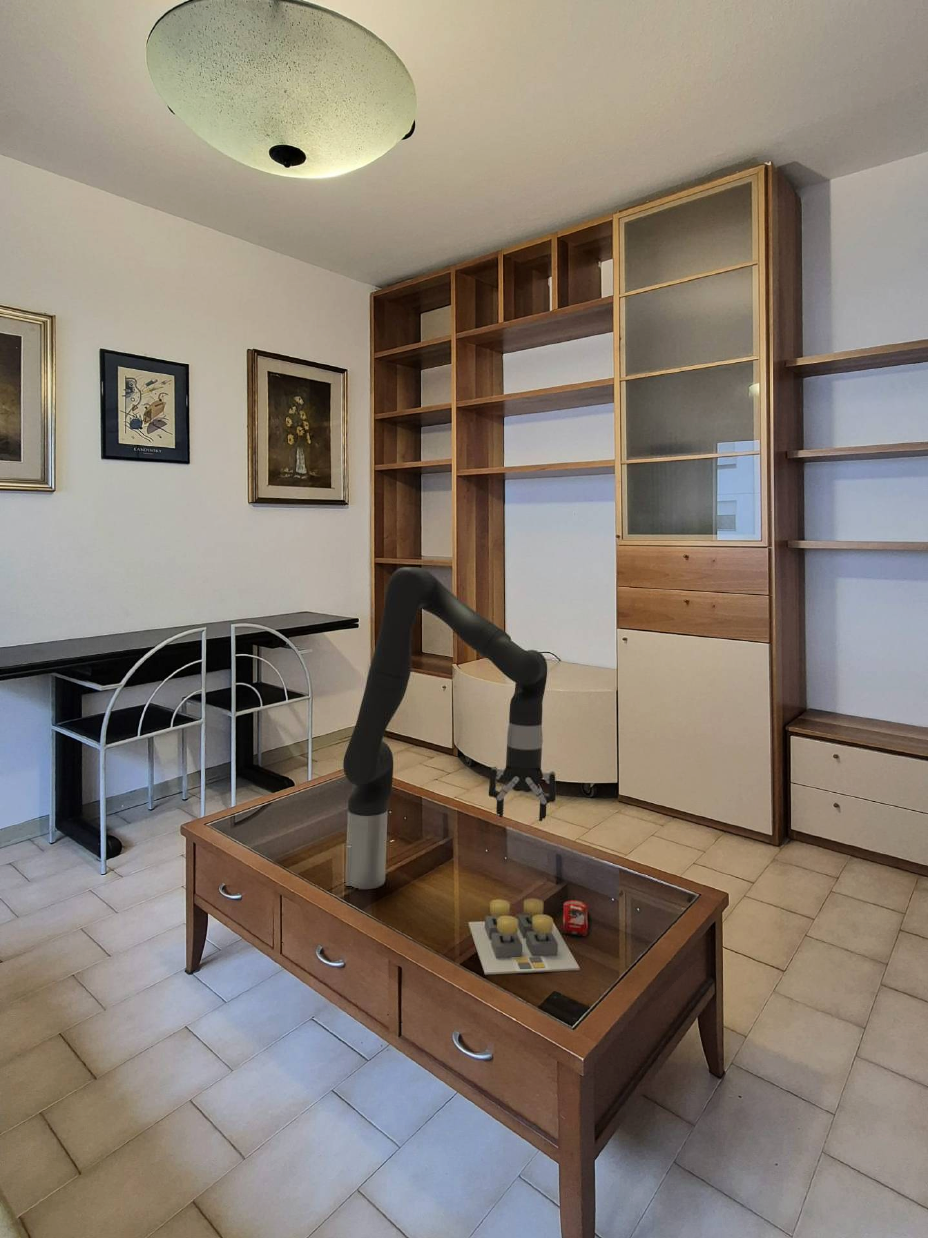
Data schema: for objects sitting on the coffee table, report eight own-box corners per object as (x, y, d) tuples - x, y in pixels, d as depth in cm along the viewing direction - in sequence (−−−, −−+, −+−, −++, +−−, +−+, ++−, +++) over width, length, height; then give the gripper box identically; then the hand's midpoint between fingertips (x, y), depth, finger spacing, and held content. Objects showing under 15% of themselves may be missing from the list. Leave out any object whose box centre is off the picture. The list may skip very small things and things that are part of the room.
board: (485, 976, 129) (485, 961, 128) (468, 924, 148) (468, 911, 148) (580, 971, 131) (581, 956, 131) (551, 921, 151) (552, 908, 150)
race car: (563, 908, 157) (564, 890, 157) (588, 911, 156) (588, 893, 156) (560, 937, 144) (561, 918, 144) (587, 940, 144) (588, 921, 143)
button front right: (534, 946, 135) (535, 924, 135) (529, 936, 139) (530, 914, 139) (554, 945, 136) (555, 924, 136) (548, 935, 140) (549, 914, 140)
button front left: (498, 948, 134) (499, 926, 134) (494, 937, 138) (495, 916, 138) (519, 947, 135) (520, 925, 135) (514, 936, 139) (515, 915, 139)
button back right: (525, 928, 142) (526, 907, 142) (520, 919, 146) (521, 898, 146) (544, 927, 143) (545, 907, 143) (539, 918, 147) (540, 898, 147)
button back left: (491, 929, 141) (492, 908, 141) (487, 920, 145) (488, 899, 145) (511, 929, 142) (512, 908, 142) (506, 919, 146) (507, 899, 146)
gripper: (489, 745, 148) (486, 821, 149) (557, 750, 146) (554, 827, 147) (493, 737, 156) (490, 810, 157) (558, 742, 154) (554, 815, 155)
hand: (521, 818), depth 152 cm, fingers open, 8 cm apart
